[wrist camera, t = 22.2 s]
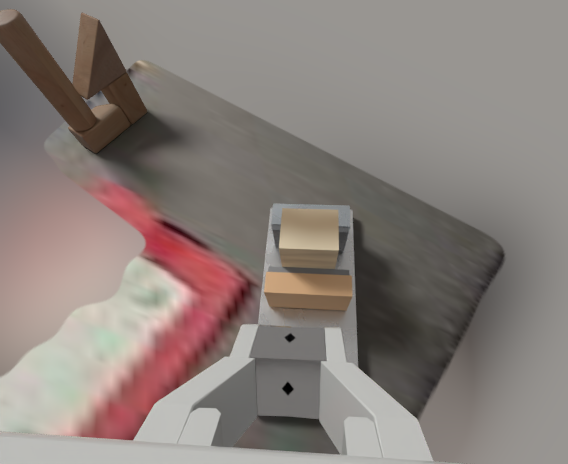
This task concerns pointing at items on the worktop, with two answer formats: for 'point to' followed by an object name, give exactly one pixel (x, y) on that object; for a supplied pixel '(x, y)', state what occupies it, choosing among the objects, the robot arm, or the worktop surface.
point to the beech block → (309, 238)
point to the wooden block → (77, 79)
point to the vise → (344, 261)
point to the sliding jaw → (308, 288)
